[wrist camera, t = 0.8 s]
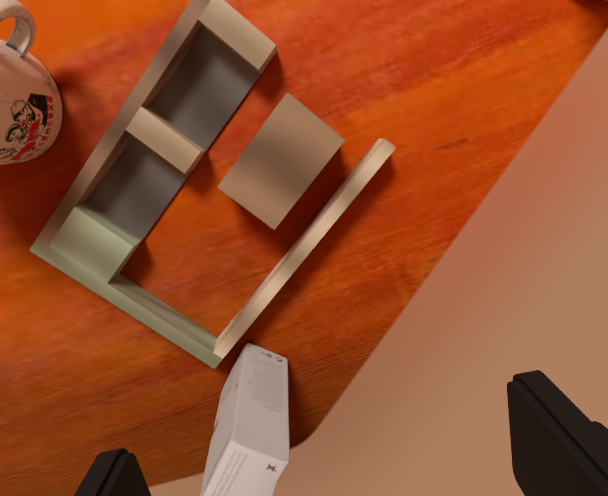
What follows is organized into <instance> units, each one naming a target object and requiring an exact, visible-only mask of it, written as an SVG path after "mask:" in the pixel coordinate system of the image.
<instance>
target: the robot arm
mask: <svg viewBox="0 0 608 496" xmlns="http://www.w3.org/2000/svg"><path fill="white" fill-rule="evenodd" d="M602 1H607V2H608V0H602ZM507 395H508V408H509V422H510V437H511V450H512V451H511V452H512V466H513V472H514V475H515V479H516V481H517V483H518V485H519V487H520V488H521V490H522V492H523V493H524V495H525V496H608V429H607V428H606V427H605V426H603V425H602V424H601V423H599V422H596V421H594V422H591V421H590V420H589V419H588V418H587V417H586V416H585V415H584V414H583V413H582V412H581V411H580V410H579V409H578V408H577V407H576V406H575V405H574V404H573V403H572V402H571V401H570V400H569V399H568V398H567V397H566V396H565V394H564V393H562V391H561V390H559V389H558V387H556V386H555V384H554V383H552V382H551V380H550V379H549V378H548V377H546V375H545V374H544V373H542V372H541V371H539V370H536V371H531V372H525V373H520V374H515V375H514V376H513V381H512V382H508V384H507ZM74 496H151V494H150V492H149V489H148V486H147V484H146V481H145V479H144V476H143V474H142V471H141V469H140V466H139V464H138V461H137V459H136V457H135V455H134V454H133V453H129V452H128V450H126V449H125V448H121V449H116V450H111V451H105V452H101V453H100V454H99V455H98V456H97V457H96V459H95V460H94V462H93V464H92V466H91V467H90V469H89V471H88V472H87V474H86V476H85V477H84V479H83V481H82V483H81V484H80V486H79V488H78V489H77V491H76V493H75V495H74Z"/></svg>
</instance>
